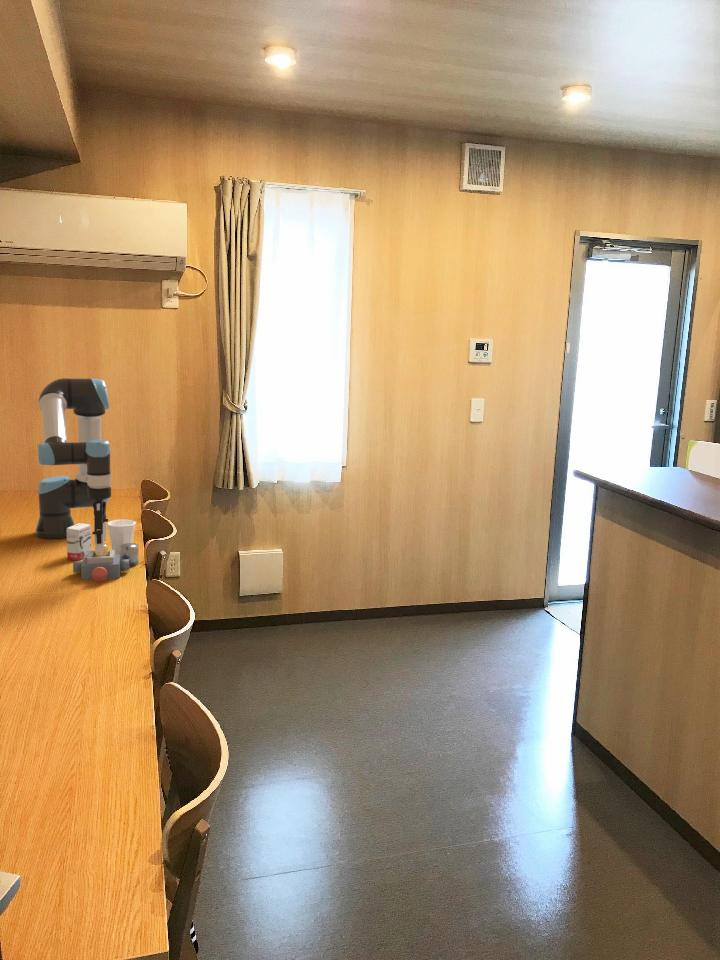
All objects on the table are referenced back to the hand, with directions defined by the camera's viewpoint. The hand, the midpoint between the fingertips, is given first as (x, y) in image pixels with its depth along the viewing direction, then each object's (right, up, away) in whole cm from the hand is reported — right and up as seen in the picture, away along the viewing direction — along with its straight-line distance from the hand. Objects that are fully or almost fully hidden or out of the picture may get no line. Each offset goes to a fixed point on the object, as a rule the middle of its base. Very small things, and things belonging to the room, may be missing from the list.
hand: (101, 546), depth 243 cm
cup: (0, -6, +21) cm, 21 cm away
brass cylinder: (0, -8, +2) cm, 9 cm away
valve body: (0, -10, 0) cm, 10 cm away
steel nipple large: (+6, -8, +13) cm, 16 cm away
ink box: (-15, -6, +18) cm, 24 cm away
